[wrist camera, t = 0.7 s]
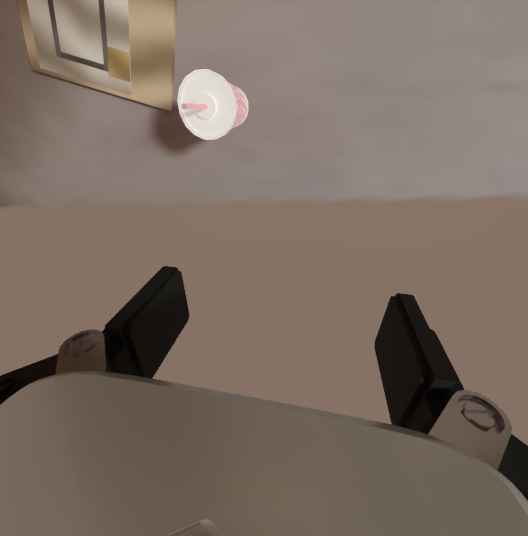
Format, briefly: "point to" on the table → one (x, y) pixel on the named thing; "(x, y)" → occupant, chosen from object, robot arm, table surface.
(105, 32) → the board
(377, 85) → the table surface
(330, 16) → the table surface
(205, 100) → the beverage cup
